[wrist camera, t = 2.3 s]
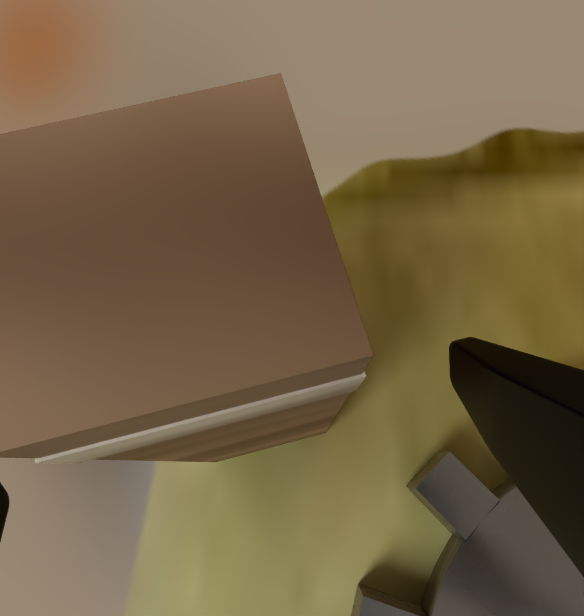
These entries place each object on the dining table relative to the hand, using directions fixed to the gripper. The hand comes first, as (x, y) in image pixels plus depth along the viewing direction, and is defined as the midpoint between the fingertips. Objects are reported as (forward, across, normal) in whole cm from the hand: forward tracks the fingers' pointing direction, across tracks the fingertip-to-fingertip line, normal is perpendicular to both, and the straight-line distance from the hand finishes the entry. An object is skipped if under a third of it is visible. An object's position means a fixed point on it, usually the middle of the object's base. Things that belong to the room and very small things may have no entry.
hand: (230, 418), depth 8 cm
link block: (+8, 0, +5) cm, 10 cm away
